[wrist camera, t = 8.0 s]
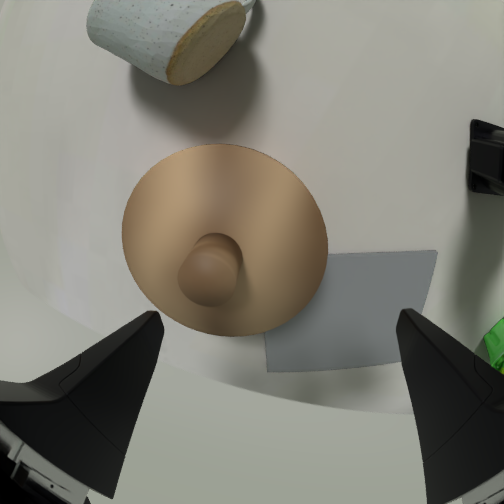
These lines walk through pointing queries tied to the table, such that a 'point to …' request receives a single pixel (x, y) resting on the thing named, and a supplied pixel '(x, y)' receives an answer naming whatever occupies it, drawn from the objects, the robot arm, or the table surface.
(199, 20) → the ceramic mug
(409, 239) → the table surface
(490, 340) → the fruit basket
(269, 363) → the mat
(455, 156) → the table surface
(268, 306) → the lid
